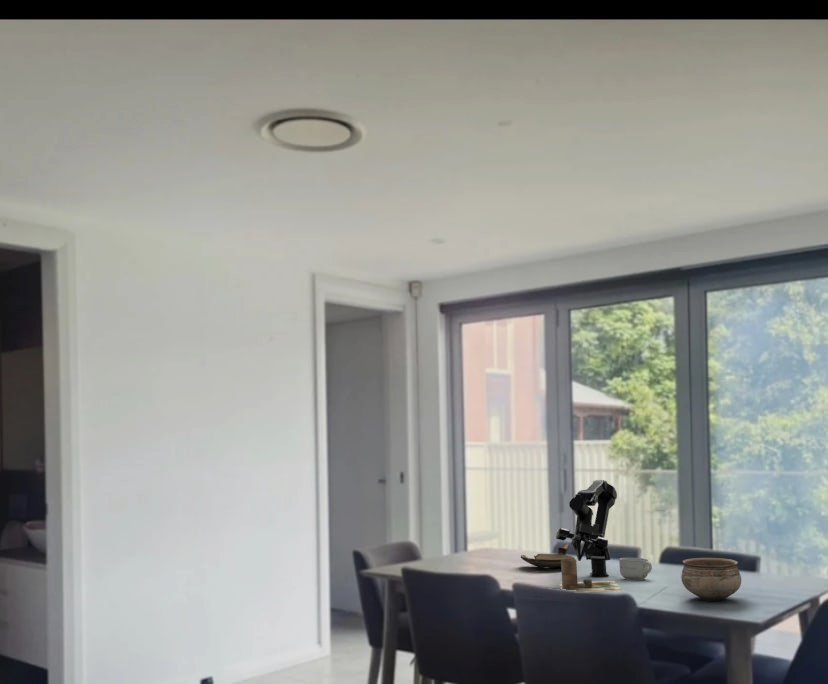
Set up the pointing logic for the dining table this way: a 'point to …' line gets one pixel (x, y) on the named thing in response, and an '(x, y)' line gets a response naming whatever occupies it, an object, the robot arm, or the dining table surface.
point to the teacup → (634, 568)
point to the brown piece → (574, 576)
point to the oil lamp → (549, 558)
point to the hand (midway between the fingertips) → (579, 560)
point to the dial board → (599, 587)
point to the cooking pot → (711, 577)
